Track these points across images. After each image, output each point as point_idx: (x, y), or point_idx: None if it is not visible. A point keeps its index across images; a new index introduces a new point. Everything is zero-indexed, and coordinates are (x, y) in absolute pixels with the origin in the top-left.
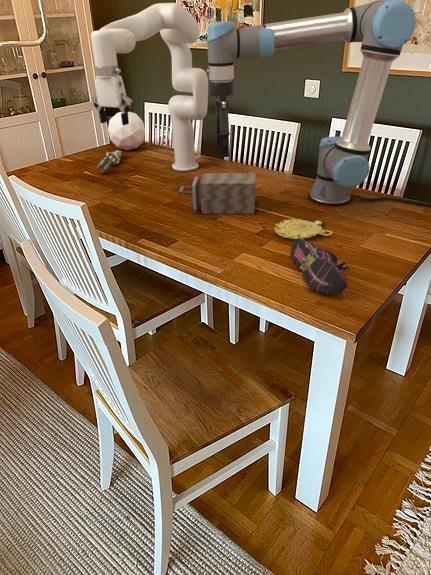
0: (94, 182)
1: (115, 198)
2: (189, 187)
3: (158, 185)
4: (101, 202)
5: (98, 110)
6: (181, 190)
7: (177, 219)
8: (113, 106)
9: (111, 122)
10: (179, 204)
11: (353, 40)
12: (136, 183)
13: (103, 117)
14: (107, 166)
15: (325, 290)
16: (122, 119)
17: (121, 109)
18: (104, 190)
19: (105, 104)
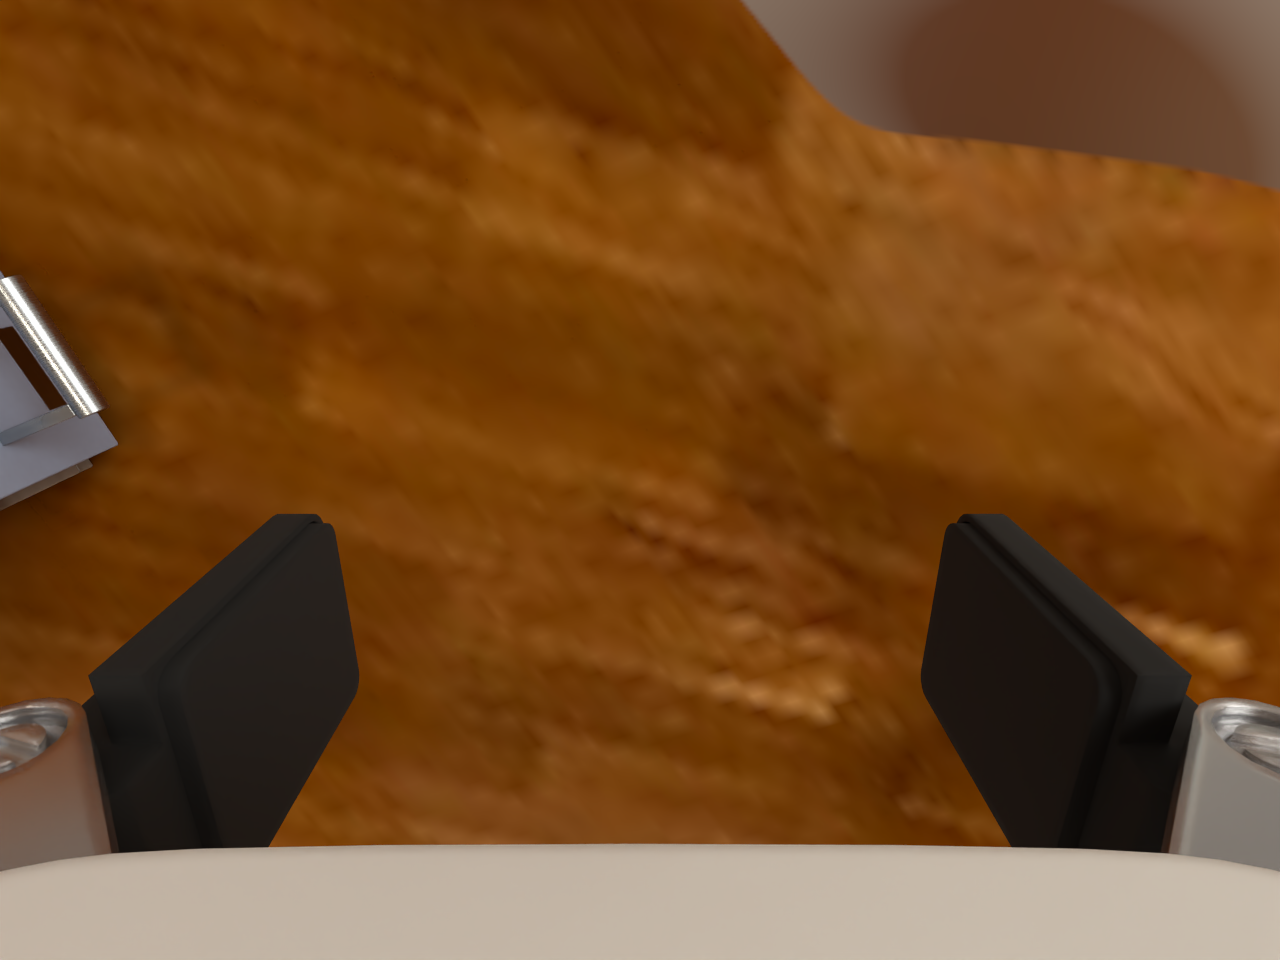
0: (1055, 508)
1: (714, 290)
2: (32, 419)
3: (570, 612)
4: (771, 173)
5: (1253, 733)
6: (6, 313)
7: (20, 104)
8: (295, 855)
9: None
10: (210, 366)
11: None
12: (738, 593)
13: (991, 654)
14: None
15: None
16: (228, 576)
17: (7, 814)
18: (890, 399)
19: (869, 922)
